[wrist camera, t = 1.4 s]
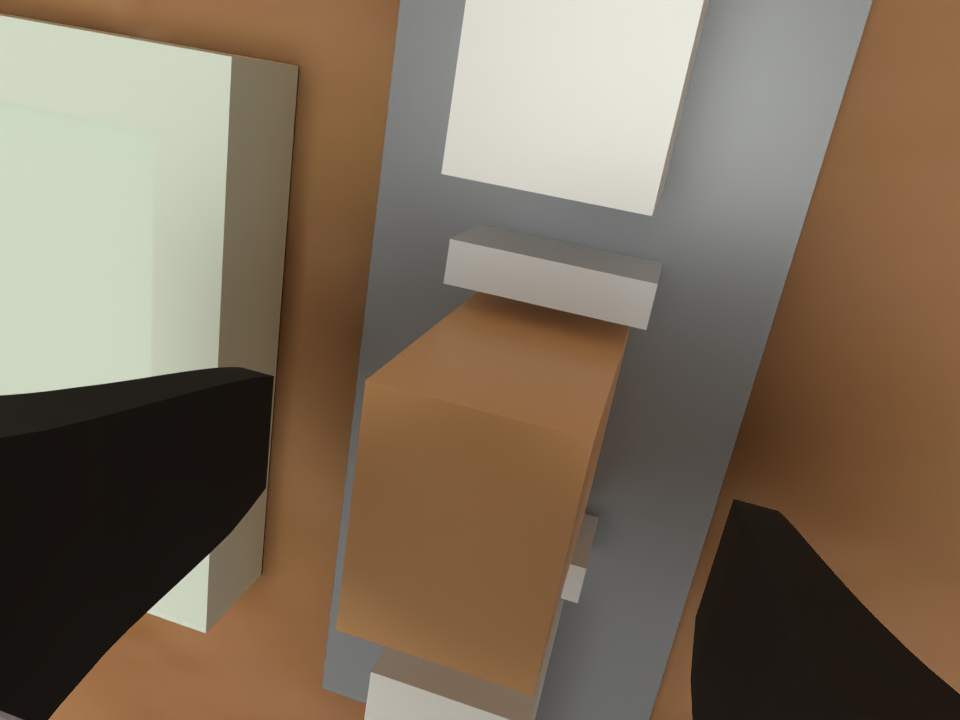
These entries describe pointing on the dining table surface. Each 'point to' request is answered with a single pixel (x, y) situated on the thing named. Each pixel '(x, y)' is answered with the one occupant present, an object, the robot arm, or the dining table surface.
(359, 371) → the block
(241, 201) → the tray
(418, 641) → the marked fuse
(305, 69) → the dining table surface
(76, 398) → the robot arm
